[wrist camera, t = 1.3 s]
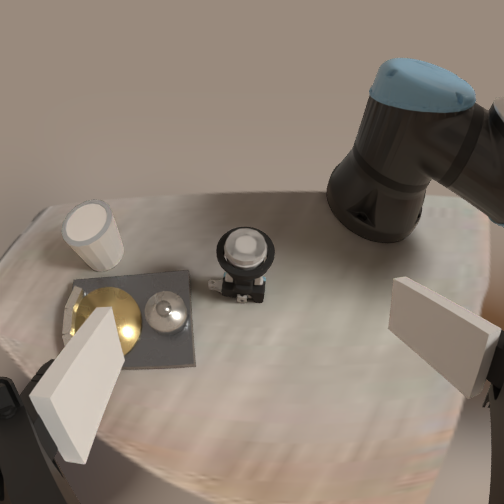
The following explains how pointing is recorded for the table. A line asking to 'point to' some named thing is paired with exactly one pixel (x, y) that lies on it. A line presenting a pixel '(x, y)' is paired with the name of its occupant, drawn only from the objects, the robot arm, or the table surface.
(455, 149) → the robot arm
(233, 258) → the push button
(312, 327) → the table surface
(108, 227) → the white tapered cup
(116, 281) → the carrier plate
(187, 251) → the table surface
